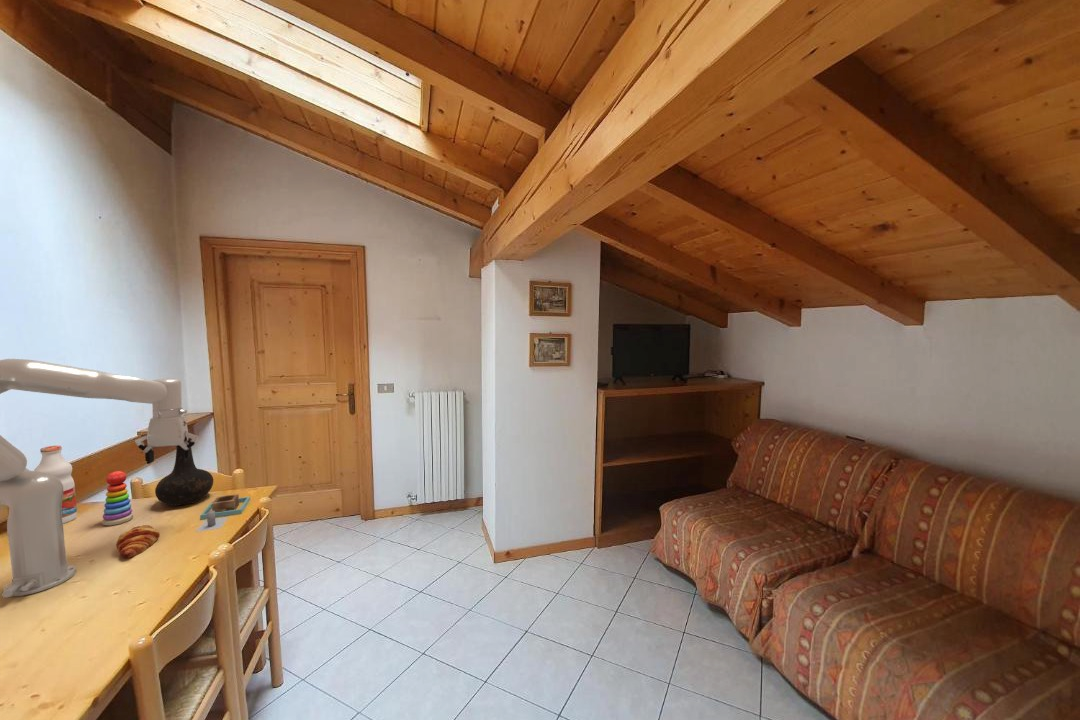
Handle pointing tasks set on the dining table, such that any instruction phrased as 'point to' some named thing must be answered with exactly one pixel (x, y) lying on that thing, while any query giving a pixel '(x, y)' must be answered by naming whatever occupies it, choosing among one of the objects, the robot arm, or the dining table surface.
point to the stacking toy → (117, 500)
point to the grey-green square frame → (226, 513)
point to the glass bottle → (184, 482)
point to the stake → (212, 522)
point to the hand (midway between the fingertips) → (168, 461)
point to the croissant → (136, 540)
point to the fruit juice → (60, 478)
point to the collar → (225, 503)
